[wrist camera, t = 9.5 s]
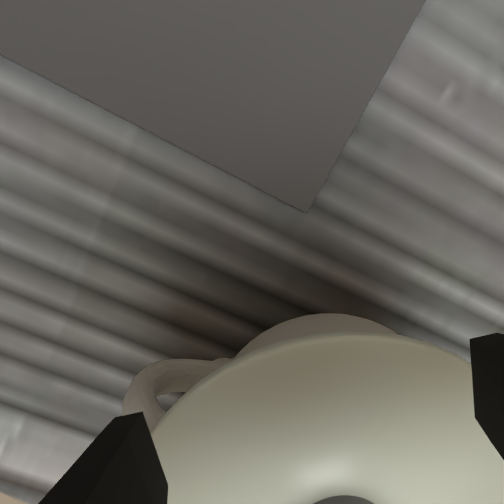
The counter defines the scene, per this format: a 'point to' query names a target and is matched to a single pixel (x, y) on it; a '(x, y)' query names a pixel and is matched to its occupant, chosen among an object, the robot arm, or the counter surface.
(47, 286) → the counter surface
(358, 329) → the teacup
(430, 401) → the lid
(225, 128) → the mat
